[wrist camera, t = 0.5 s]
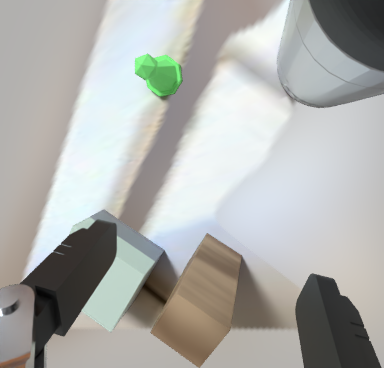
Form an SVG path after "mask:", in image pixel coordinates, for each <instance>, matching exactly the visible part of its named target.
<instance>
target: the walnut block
mask: <svg viewBox="0 0 384 368" xmlns="http://www.w3.org/2000/svg"><path fill="white" fill-rule="evenodd" d="M241 258H242V255H240V254H238V253H237V252H235V251H234V250H232V249H231V248H229V247H228V246H226V245H225V244H223V243H221V242H220V241H218V240H217V239H215V238H214V237H212V236H211V235H209V234H208V233H207V234H206V236H205V237H204V239H203V240H202V242H201V243H200V245H199V247H198V248H197V250H196V251H195V253H194V254H193V256H192V257H191V259H190V260H189V262H188V264H187V266H186V267H185V269H184V271H183V273H182V275H181V277H180V279H179V280H178V282H177V284H176V286H175V288H174V290H173V292H172V293H171V295H170V297H169V299H168V301H167V303H166V304H165V306H164V308H163V310H162V312H161V314H160V316H159V317H158V319H157V321H156V323H155V325H154V327H153V329H152V330H151V334H153V335H154V336H156V337H157V338H158V339H160V340H161V341H162V342H164V343H165V344H167V345H168V346H169V347H171V348H172V349H174V350H175V351H176V352H178V353H179V354H181V355H182V356H183V357H185V358H186V359H188V360H189V361H190V362H192V363H193V364H195V365H196V366H197V367H199V368H200V366H201V365H202V364H203V363H204V362H205V360H206V359H207V358H208V357H209V355H210V354H211V353H212V352H213V351H214V349H215V348H216V347H217V346H218V344H219V343H220V342H221V341H222V340H223V338H224V337H225V336H226V335H227V333H228V332H229V331H230V329H231V322H232V316H233V309H234V303H235V297H236V290H237V284H238V277H239V271H240V265H241Z"/></svg>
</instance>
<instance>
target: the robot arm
mask: <svg viewBox="0 0 384 368" xmlns="http://www.w3.org/2000/svg"><path fill="white" fill-rule="evenodd" d="M277 71H278V75H279V79H280V82H281V83H282V85H283V87H284V89H285V90H286V92H287V93H288V94H289V95H290V96H291V97H292V98H294V99H295V100H296V101H298V102H300V103H302V104H304V105H307V106H312V107H317V108H324V107H332V106H337V105H341V104H345V103H350V102H354V101H357V100H361V99H365V98H369V97H373V96H377V95H381V94H384V0H290V3H289V8H288V12H287V17H286V21H285V26H284V30H283V34H282V38H281V43H280V47H279V52H278V58H277ZM116 253H117V225H116V223H113V222H109V221H105V220H101V219H97V220H96V221H95V222H94V223H93V224H92V225H91V226H90V227H89V228H88V229H86V228H81V229H79V230H77V231H75V232H73V233H72V234H70V235H69V236H68V237H67V238H66V239H65V240H64V241H63V242H62V243H61V245H59V246H58V247H57V248H56V249H55V250H54V252H53V253H51V254H50V255H49V256H48V257H47V258H46V259H45V260H44V261H43V262H42V263H41V264H40V265H38V266H37V267H36V268H35V269H34V270H33V271H32V272H31V273H30V274H29V275H28V276H27V277H26V278H25V279H24V280H23V281H22V282H21V283H20V284H15V285H9V286H6V287H3V288H1V289H0V368H46V358H47V357H46V356H47V344H46V343H47V342H48V341H49V339H50V338H51V336H52V335H53V334H54V333H55V334H57V335H60V336H65V335H66V333H67V332H68V330H69V329H70V327H71V326H72V324H73V323H74V321H75V320H76V318H77V317H78V315H79V314H80V312H81V311H82V309H83V308H84V306H85V305H86V303H87V302H88V300H89V299H90V297H91V296H92V294H93V293H94V291H95V290H96V288H97V287H98V285H99V284H100V282H101V281H102V279H103V278H104V276H105V275H106V273H107V272H108V270H109V269H110V267H111V266H112V264H113V262H114V260H115V257H116ZM296 320H297V327H298V333H299V339H300V345H301V351H302V357H303V363H304V368H381V366H380V363H379V361H378V358H377V356H376V353H375V351H374V348H373V346H372V344H371V341H369V336H368V334H367V331H366V329H365V328H364V324H363V322H362V319H361V317H360V315H359V312H358V310H357V309H356V308H355V306H354V305H353V304H352V302H351V301H350V300H349V299H348V298H347V297H346V296H342V295H340V292H339V290H338V287H337V284H336V282H335V280H334V279H332V278H329V277H324V276H320V275H317V274H311V275H310V276H309V277H308V280H307V281H306V283H305V285H304V287H303V289H302V291H301V293H300V295H299V297H298V299H297V303H296Z"/></svg>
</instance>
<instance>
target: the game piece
mask: <svg viewBox="0 0 384 368" xmlns="http://www.w3.org/2000/svg"><path fill="white" fill-rule="evenodd" d="M135 74H136V75H138V76H139V77H141V78H143V79H144V80H146V82H147V87H148V88H149V89H150V90H152V91H153V92H154V93H156V94H157V95H158V96H161V97H162V96H167V95H171V94H175V92H176V91H177V89H178V87H179V86H180V84H181V83H182V81H183V80H182V74H181V67H180V65H179V64H178V63H176V62H175V61H174V60H173V59H171V58H170V57H169V56H167V55H164V56H160V57H156V58H153V57H151V56H150V55H149V54H146V55H143V56H141V57H138V58H135Z"/></svg>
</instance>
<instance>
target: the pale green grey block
mask: <svg viewBox="0 0 384 368" xmlns="http://www.w3.org/2000/svg"><path fill="white" fill-rule="evenodd" d="M97 219H101V220H105V221H109V222H113V223H116V225H117V253H116V257H115V260H114V262H113V264H112V266H111V267H110V269H109V270H108V272H107V273H106V275H105V276H104V278H103V279H102V281H101V282H100V284H99V285H98V287H97V288H96V290H95V291H94V293H93V294H92V296H91V297H90V299H89V300H88V302H87V303H86V305H85V306H84V308H83V309H82V312H83V313H85V314H86V315H88V316H89V317H90V318H92V319H93V320H94V321H96V322H97V323H98V324H100V325H101V326H103V327H104V328H105V329H107V330H108V331H109V332H112V330H113V329H114V328H115V326H116V325H117V324H118V322H119V321H120V320H121V318H122V317H123V315H124V314H125V313H126V311H127V310H128V309H129V307H130V306H131V304H132V303H133V302H134V300H135V298H136V297H137V295H138V293H139V292H140V290H141V288H142V287H143V285H144V283H145V282H146V280H147V278H148V277H149V275H150V273H151V272H152V270H153V268H154V267H155V265H156V263H157V262H158V260H159V258H160V257H161V255H162V253H163V252H164V250H163V249H162V248H160V247H159V246H157V245H156V244H154V243H153V242H151V241H150V240H148V239H147V238H145V237H144V236H142V235H141V234H139V233H138V232H136V231H135V230H133V229H132V228H130V227H129V226H127V225H126V224H124V223H123V222H122V221H120V220H119V219H117V218H116V217H114V216H113V215H111V214H110V213H108V212H107V211H105V210H102V211H100V212H98V213H96V214H94V215H92V216H90V217H89V218H87V219H85V220H83V221H81V222H79V223H77V224H75V225H74V226H73V227H72V229H71V232H70V234H72V233H73V232H75V231H77V230H79V229H81V228H86V229H88V228H89V227H90V226H91V225H92V224H93V223H94V222H95V221H96V220H97ZM70 234H69V235H70Z"/></svg>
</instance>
